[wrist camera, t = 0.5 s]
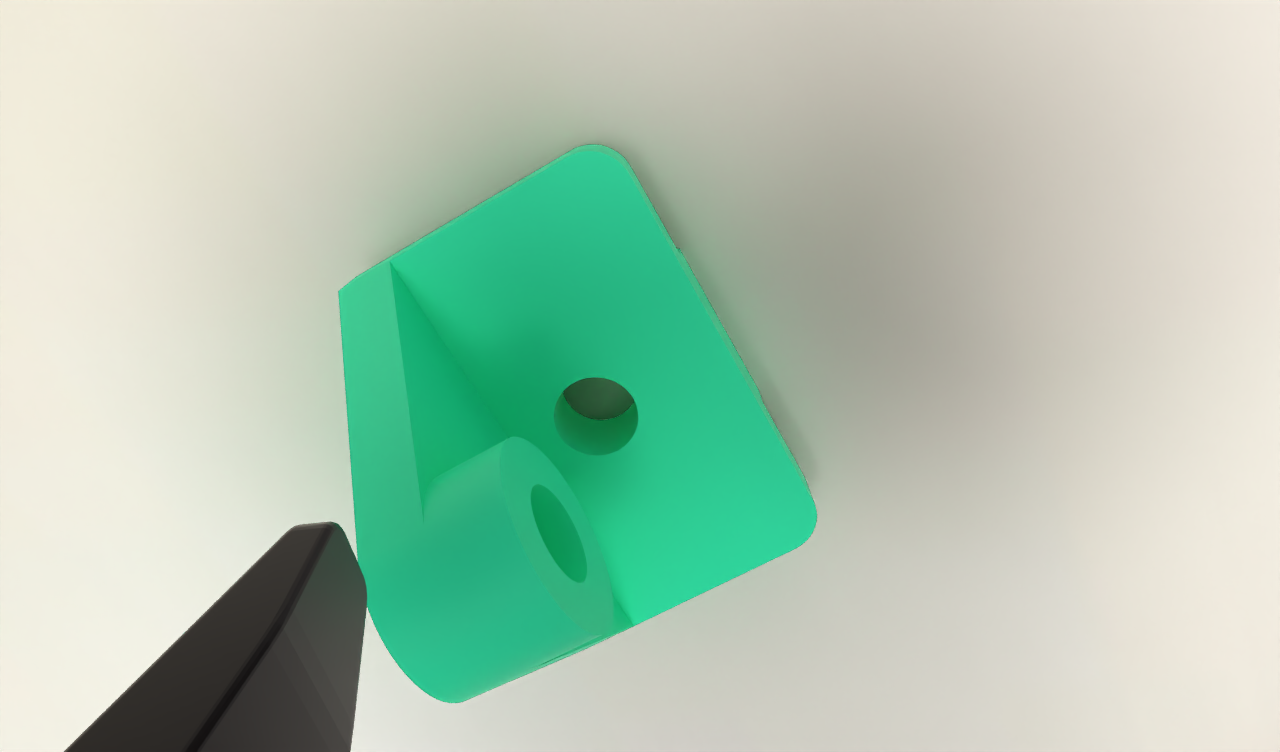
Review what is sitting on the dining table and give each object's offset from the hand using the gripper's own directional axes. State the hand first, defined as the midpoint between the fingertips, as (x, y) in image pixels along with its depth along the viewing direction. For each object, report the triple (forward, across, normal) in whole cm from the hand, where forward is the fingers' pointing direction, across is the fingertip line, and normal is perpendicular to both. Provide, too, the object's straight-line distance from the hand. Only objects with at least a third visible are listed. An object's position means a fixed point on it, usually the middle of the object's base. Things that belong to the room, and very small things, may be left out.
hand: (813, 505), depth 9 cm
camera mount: (+15, +4, +9) cm, 18 cm away
